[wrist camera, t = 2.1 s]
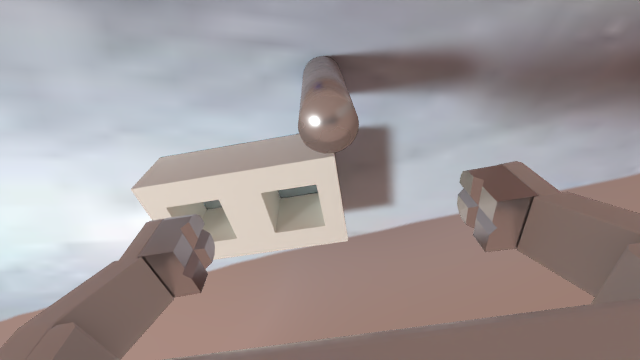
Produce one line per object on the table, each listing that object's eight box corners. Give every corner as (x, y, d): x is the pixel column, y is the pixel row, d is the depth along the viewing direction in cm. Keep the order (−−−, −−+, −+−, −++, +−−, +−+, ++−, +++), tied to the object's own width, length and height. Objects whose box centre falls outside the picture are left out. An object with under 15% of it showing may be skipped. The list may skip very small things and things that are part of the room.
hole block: (330, 128, 24) (334, 156, 20) (342, 206, 29) (348, 240, 25) (160, 157, 26) (130, 189, 22) (199, 227, 31) (182, 263, 26)
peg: (338, 52, 21) (355, 91, 13) (343, 91, 23) (361, 148, 14) (299, 60, 21) (292, 102, 13) (307, 98, 23) (304, 157, 15)
